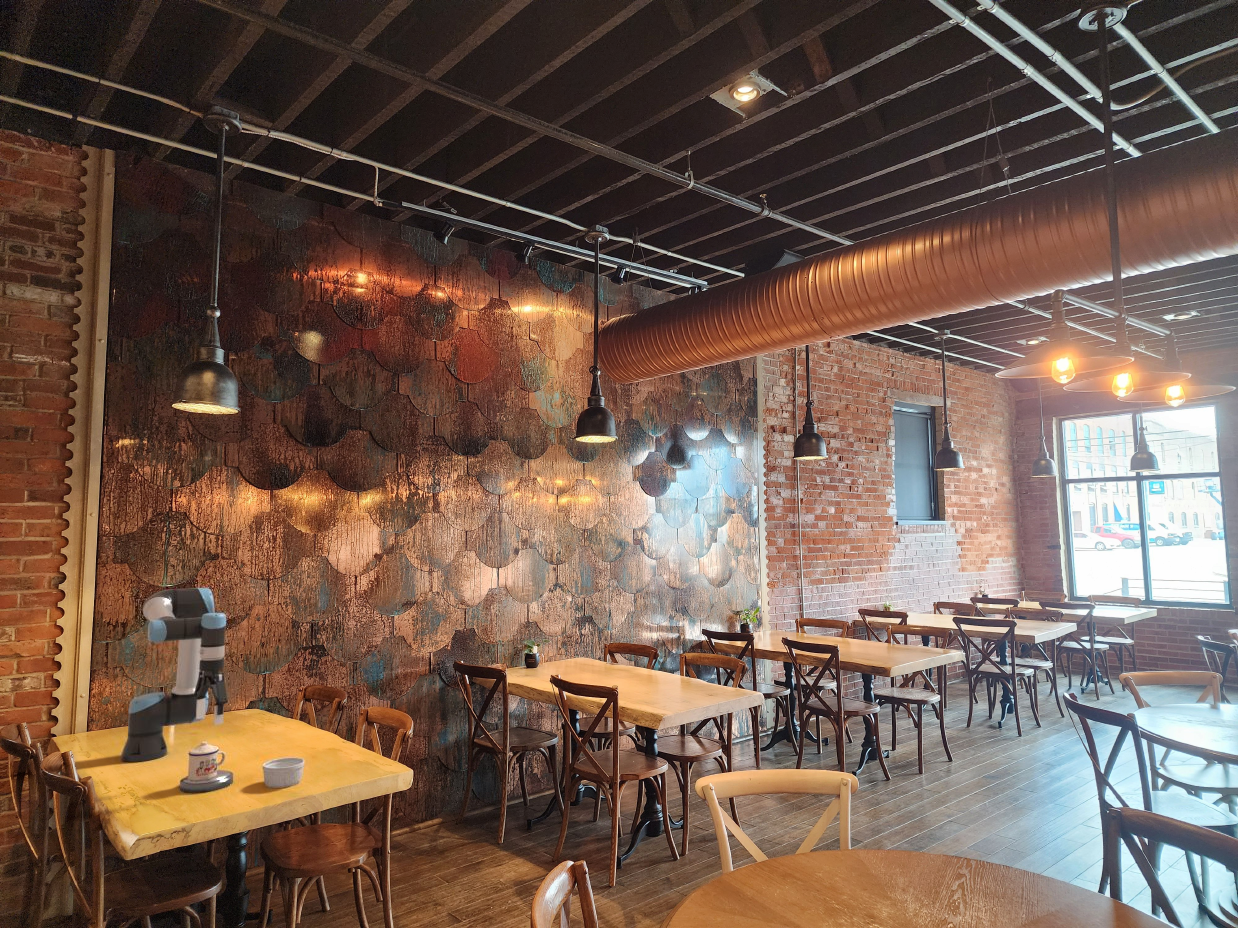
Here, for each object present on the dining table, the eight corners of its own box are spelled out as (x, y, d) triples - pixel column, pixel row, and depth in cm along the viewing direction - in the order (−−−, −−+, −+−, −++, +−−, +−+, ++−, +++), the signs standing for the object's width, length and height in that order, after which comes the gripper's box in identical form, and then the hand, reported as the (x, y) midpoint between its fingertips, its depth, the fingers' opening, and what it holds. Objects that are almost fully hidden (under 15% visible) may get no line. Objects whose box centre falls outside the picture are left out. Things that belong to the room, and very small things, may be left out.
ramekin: (292, 774, 268) (293, 754, 268) (311, 782, 259) (312, 761, 260) (255, 784, 257) (255, 763, 258) (273, 792, 249) (274, 770, 250)
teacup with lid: (195, 782, 249) (197, 746, 251) (181, 778, 255) (183, 742, 256) (231, 773, 259) (232, 738, 260) (217, 769, 264) (219, 735, 266)
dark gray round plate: (171, 786, 255) (171, 777, 256) (220, 774, 268) (220, 766, 268) (192, 796, 245) (192, 786, 246) (241, 783, 258) (241, 774, 258)
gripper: (185, 656, 265) (182, 717, 264) (217, 663, 250) (214, 729, 248) (207, 653, 271) (204, 713, 269) (240, 660, 256) (237, 724, 254)
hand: (209, 721), depth 259 cm, fingers open, 13 cm apart
